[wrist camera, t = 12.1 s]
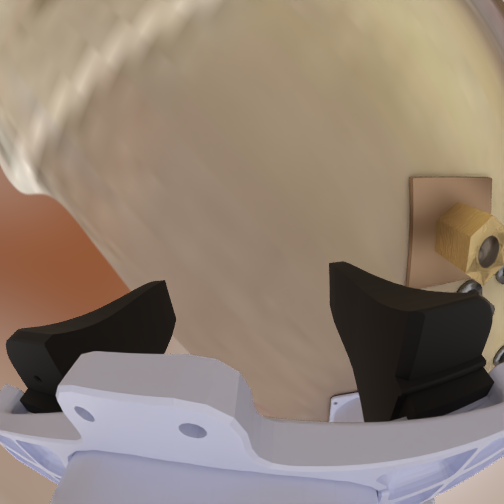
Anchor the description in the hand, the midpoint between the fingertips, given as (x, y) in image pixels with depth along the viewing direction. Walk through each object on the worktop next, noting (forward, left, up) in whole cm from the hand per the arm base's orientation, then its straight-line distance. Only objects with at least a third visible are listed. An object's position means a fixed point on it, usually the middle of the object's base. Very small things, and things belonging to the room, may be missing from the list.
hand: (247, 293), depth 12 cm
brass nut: (-2, -18, -10) cm, 21 cm away
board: (-2, -18, -10) cm, 21 cm away
